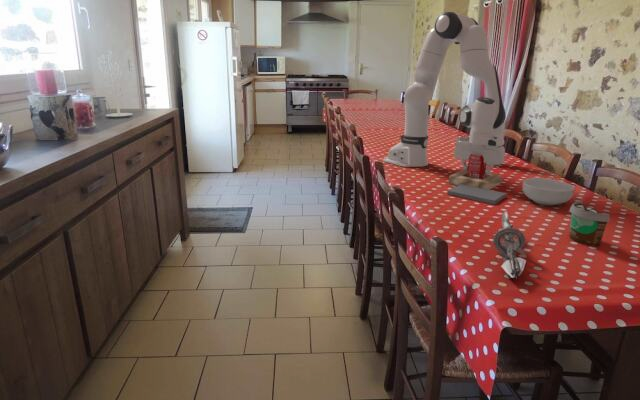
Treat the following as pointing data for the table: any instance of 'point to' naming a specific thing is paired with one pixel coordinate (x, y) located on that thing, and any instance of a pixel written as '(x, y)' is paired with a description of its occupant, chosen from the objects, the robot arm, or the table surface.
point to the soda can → (476, 167)
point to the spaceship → (510, 247)
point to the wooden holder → (475, 180)
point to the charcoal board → (477, 194)
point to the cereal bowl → (547, 191)
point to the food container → (587, 224)
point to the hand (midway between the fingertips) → (476, 171)
